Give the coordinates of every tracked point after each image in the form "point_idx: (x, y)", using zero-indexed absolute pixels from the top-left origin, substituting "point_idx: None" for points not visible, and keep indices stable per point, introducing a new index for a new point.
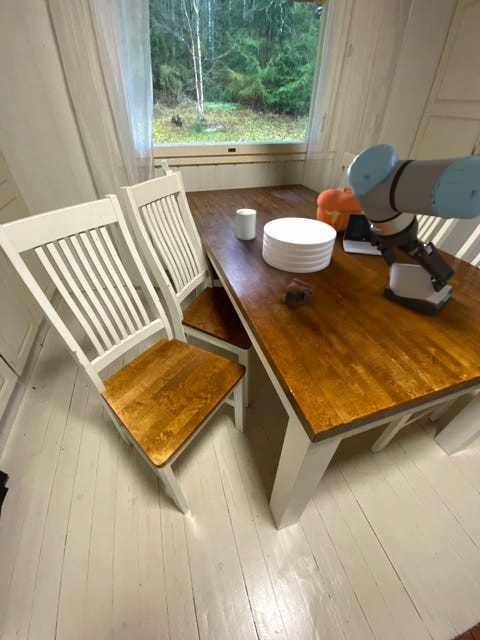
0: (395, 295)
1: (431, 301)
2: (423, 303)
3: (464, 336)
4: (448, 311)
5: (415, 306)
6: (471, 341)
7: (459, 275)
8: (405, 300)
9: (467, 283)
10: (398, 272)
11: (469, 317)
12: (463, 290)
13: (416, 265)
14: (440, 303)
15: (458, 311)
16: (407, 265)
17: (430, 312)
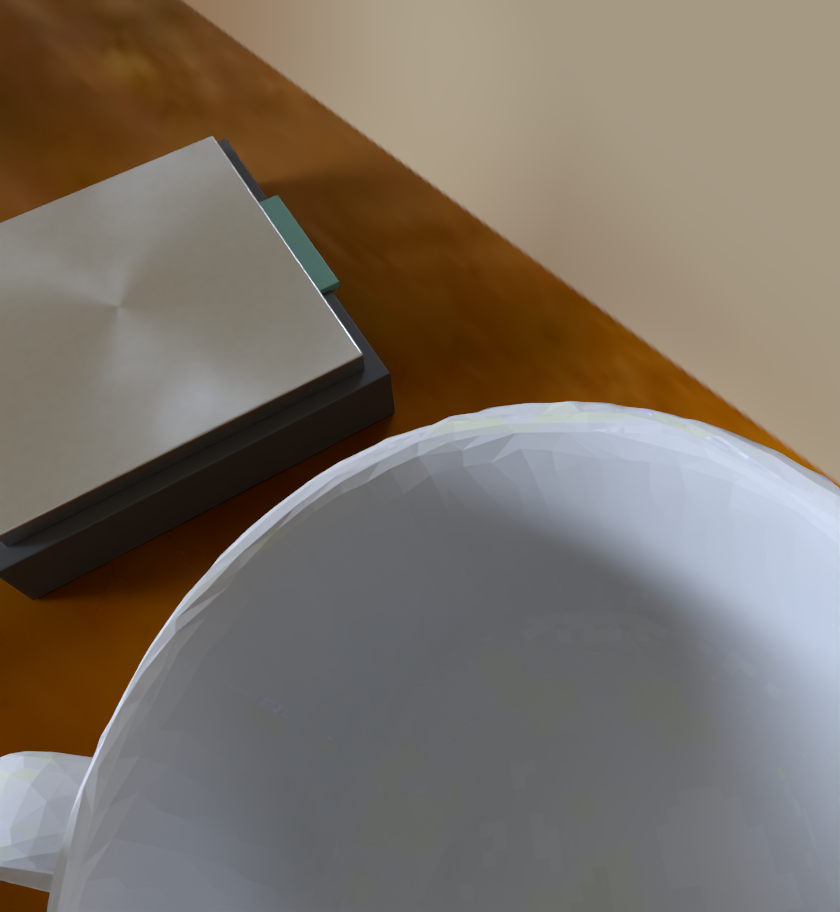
0: (111, 535)
1: (323, 373)
2: (300, 422)
3: (616, 376)
4: (371, 291)
5: (274, 464)
6: (665, 372)
7: (81, 7)
8: (194, 496)
9: (165, 25)
10: None
11: (453, 227)
12: (214, 84)
13: (219, 579)
14: (341, 317)
15: (386, 240)
16: (146, 721)
17: (369, 415)
